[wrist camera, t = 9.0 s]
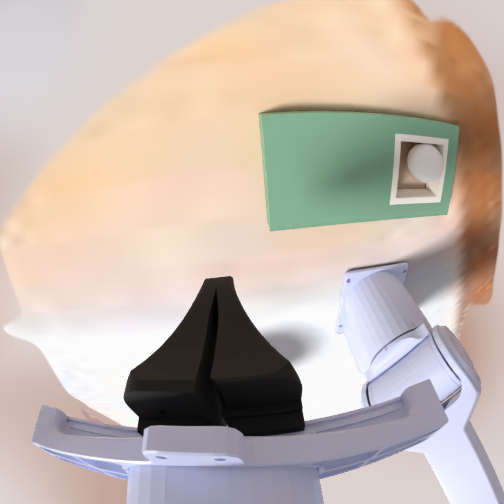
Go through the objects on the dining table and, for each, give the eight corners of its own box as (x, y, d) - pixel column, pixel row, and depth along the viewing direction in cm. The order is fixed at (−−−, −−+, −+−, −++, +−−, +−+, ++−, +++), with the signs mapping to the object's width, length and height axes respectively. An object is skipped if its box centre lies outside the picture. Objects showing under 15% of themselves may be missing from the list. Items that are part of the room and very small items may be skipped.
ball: (450, 146, 17) (416, 147, 17) (450, 186, 18) (418, 189, 19) (430, 139, 20) (399, 141, 20) (432, 175, 21) (402, 178, 22)
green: (436, 206, 24) (447, 214, 22) (267, 220, 23) (270, 231, 22) (446, 122, 19) (459, 126, 17) (258, 113, 18) (261, 115, 17)
